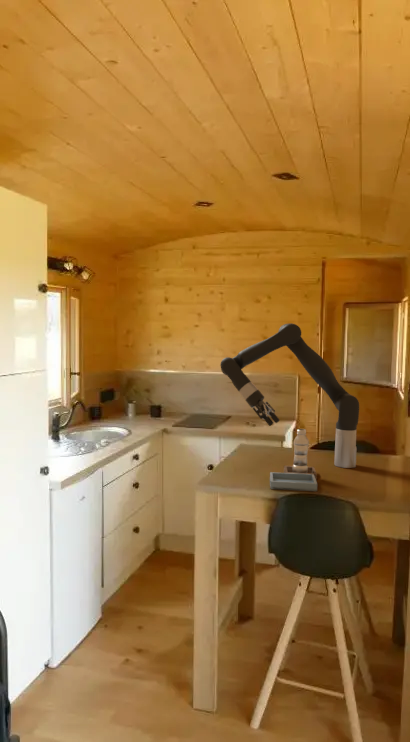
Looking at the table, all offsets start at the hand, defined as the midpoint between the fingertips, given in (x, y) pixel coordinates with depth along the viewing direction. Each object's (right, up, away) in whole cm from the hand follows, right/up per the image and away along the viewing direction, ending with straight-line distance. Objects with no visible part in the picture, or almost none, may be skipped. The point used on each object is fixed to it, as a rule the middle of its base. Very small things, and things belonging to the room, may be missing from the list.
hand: (275, 423), depth 245 cm
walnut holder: (+10, -22, -3) cm, 25 cm away
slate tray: (+5, -23, -18) cm, 30 cm away
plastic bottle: (+10, -22, -3) cm, 25 cm away
